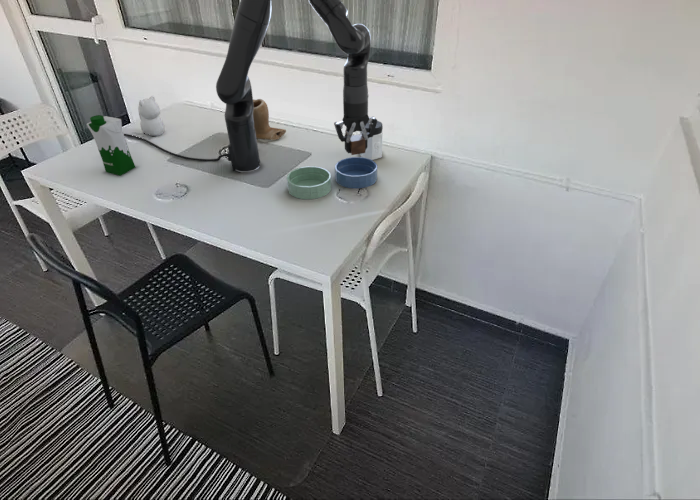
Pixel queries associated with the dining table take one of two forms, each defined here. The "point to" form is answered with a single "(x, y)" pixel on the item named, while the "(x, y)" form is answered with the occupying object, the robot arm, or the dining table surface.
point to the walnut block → (357, 144)
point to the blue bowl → (356, 172)
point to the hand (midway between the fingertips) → (356, 150)
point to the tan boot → (264, 122)
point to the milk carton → (111, 144)
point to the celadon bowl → (309, 182)
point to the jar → (374, 143)
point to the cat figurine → (150, 117)
